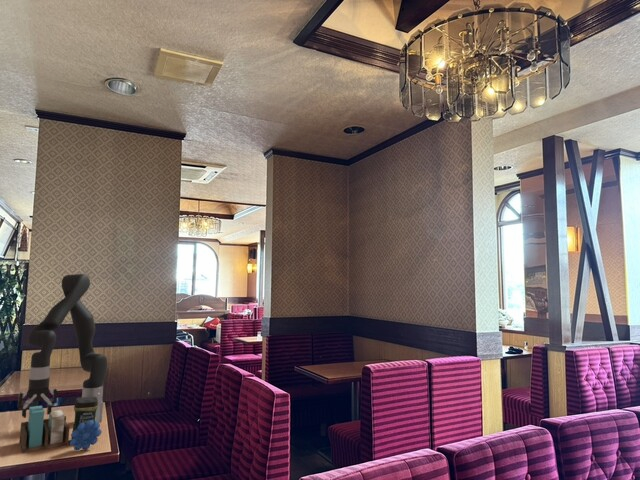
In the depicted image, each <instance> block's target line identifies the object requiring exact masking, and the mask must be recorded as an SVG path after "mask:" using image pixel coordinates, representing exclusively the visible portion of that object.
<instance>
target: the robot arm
mask: <svg viewBox="0 0 640 480" xmlns="http://www.w3.org/2000/svg"><path fill="white" fill-rule="evenodd" d="M90 285H91V280H90V277H89V276H88V275H87V274H86V273H85V274H84V273H78V274H76V273H75V274H66V275H64V277H62V279H61V288H62V289H61V290H62V292H63V295H64V297H63V298H62V299H61V300H60V301H58V302H57V303H56V304H55V305H54V306H52V307H51V308H50V310H49V311H48V313H47V314H46V315H45V317H44V319H43V320H42V321H41V322H39V324H38V325H36V326H35V327H34V328H33V329H32V330H31V331H30V333H29V335H28V337H27V338H28V339H27V342H28V345H30V346H32V347H40V348H41V349H40V351H36V352H33V353H32V355H31V361H30V369H29V376H28V377H29V378H28V389H27V392H22V391H20V392H18V399H17V404H16V405H17V408H18V409H21V416H22V418H23V419H25V418H27V408H28V407H29V406H30V404H31V403H36V402H43V401H44V402H46V403H47V407H46V409H47V410H46V414H47V415H48V416H49V413H51V411H52V410H53V409H52V406H53V405H54V404H57V403H58V390H57V388H56V387H55V388H52V389H50V376H51V368H50V367H51V366H50V365H51V356H52V353H53V351H54V348H55V345H56V342H57V334H56V332H55V330H58V329H59V328H60V326H62V324H63V322H64V320H65V319H66V317H67V315H68V314H69V312H70V316H71V320H72V325H73V326H72V327H73V329H74V333H75V334H74V335H75V337H76V341H77V346H78V353H79V361H80V362H79V364H80V366H81V369H82V370H83V371H85V372H87V373H89V378H87V379H84V381H83V382H82V392H81V393H82V394H81V398H83V397H95V396H96V397H97V399H98V408H97V410H96V423H101V422H103V410H104V409H103V408H104V401H103V394H104V382H105V381H106V377H107V368H108V359H107V357H106V355H105V354H101V353H95V349H94V345H93V340H94V337H95V333H96V324H95V323H96V322H95V319H94V315H93V314H92V312H91V311H90V309H88V307H86V305H85V304H84V303H83V302H82V301H81V298H82V297H83V296H84V295H85V294H86V293H87V291H88V290H89V288H90ZM50 393H51V395H52V400H50V398H48V396H49V394H50ZM26 396H27V397H28V398H27V400H26V401H25V403H23V399H24V398H25V397H26ZM22 403H23V404H22Z"/></svg>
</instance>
